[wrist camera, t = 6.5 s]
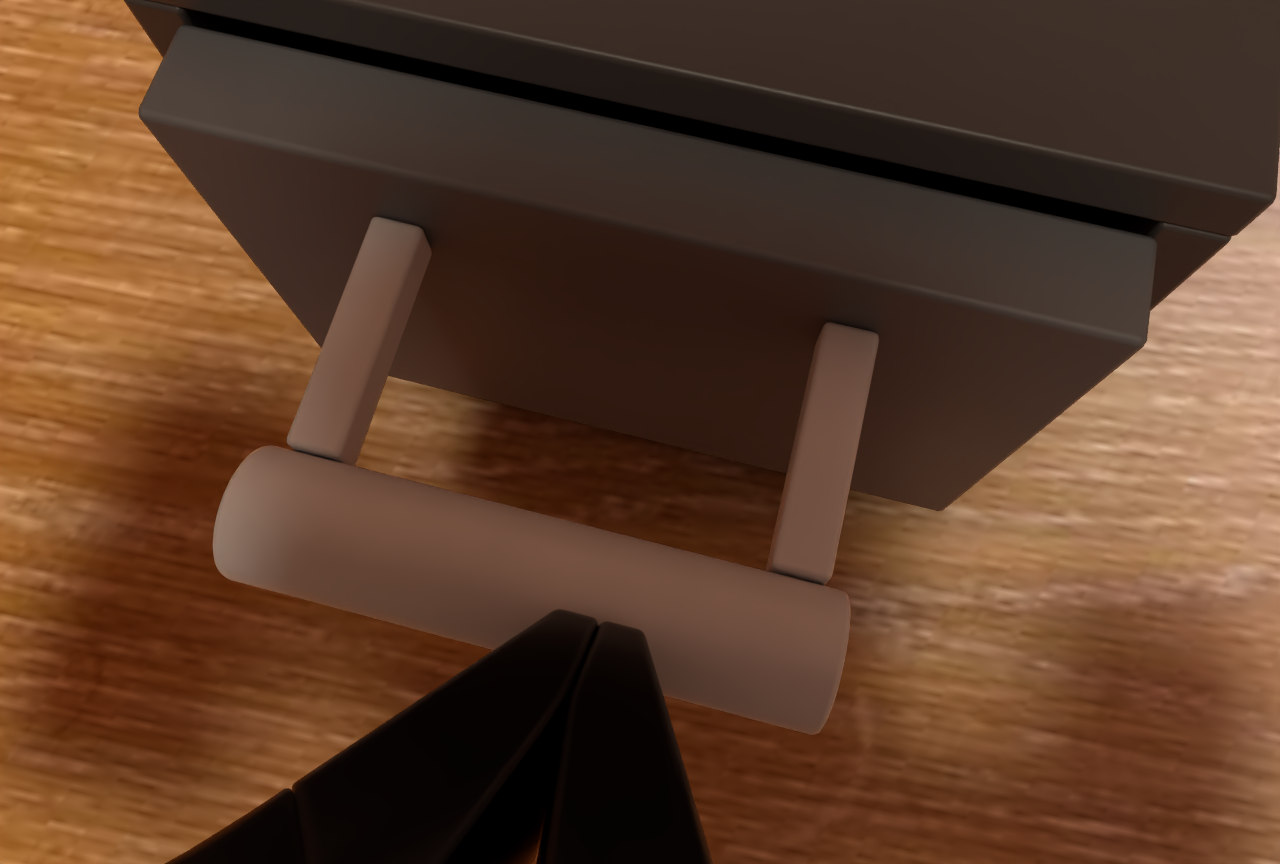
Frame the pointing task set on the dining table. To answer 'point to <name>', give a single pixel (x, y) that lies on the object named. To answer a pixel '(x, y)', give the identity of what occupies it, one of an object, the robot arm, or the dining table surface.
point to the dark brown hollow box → (889, 85)
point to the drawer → (622, 341)
